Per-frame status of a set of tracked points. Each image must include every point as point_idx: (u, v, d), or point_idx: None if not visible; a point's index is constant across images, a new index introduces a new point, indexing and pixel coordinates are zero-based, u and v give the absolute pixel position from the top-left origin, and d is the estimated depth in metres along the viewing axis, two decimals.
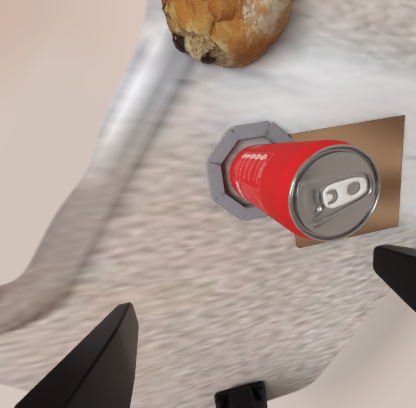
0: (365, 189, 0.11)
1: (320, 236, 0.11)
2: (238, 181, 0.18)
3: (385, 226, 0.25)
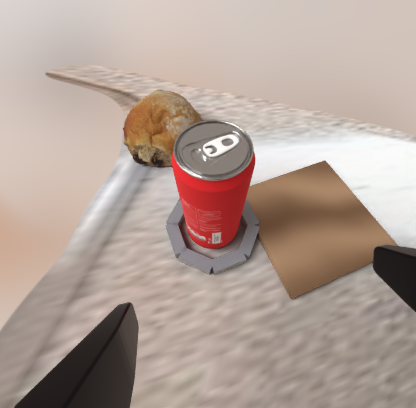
0: (238, 140, 0.13)
1: None
2: (185, 219, 0.19)
3: None
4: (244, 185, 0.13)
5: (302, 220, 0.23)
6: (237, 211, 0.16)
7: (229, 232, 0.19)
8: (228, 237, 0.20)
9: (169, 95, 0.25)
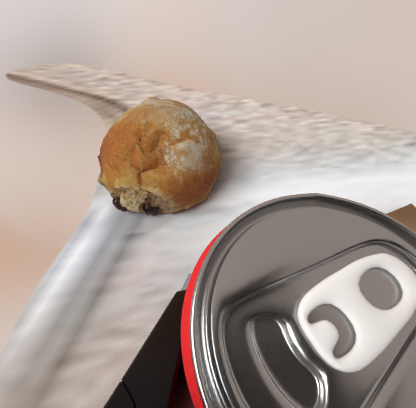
0: None
1: None
2: None
3: None
4: None
5: None
6: None
7: None
8: None
9: (169, 106, 0.16)
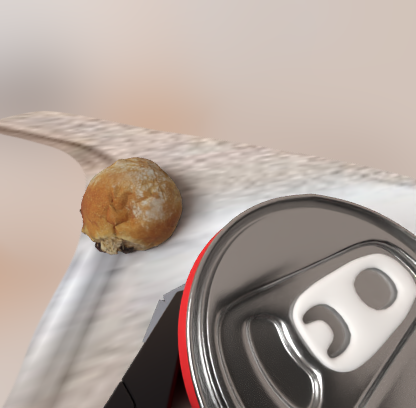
0: (413, 283, 0.04)
1: None
2: None
3: None
4: None
5: None
6: None
7: None
8: None
9: (134, 169, 0.20)
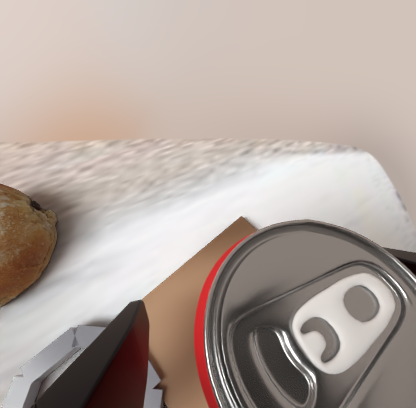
0: (392, 299, 0.04)
1: None
2: None
3: None
4: None
5: None
6: None
7: None
8: None
9: None
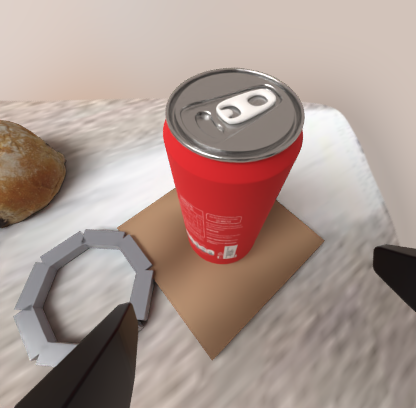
0: (274, 97, 0.08)
1: None
2: (185, 225, 0.14)
3: (307, 250, 0.17)
4: (286, 173, 0.08)
5: None
6: (265, 215, 0.11)
7: (247, 244, 0.13)
8: (245, 250, 0.14)
9: None
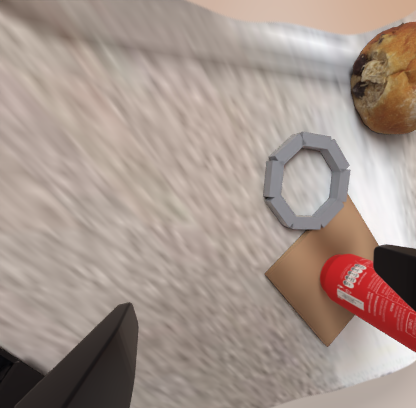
0: None
1: None
2: (369, 267, 0.19)
3: (322, 335, 0.24)
4: None
5: None
6: (400, 341, 0.16)
7: (356, 312, 0.19)
8: (344, 305, 0.20)
9: None
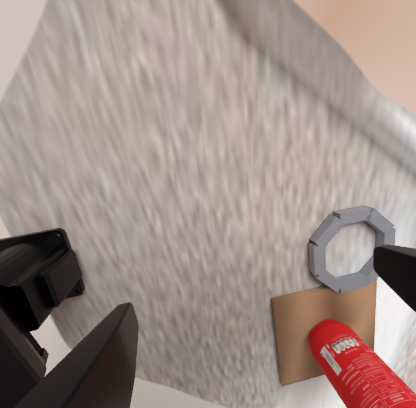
0: None
1: None
2: (361, 346, 0.21)
3: (284, 374, 0.26)
4: None
5: None
6: None
7: (329, 373, 0.21)
8: (321, 362, 0.22)
9: None
